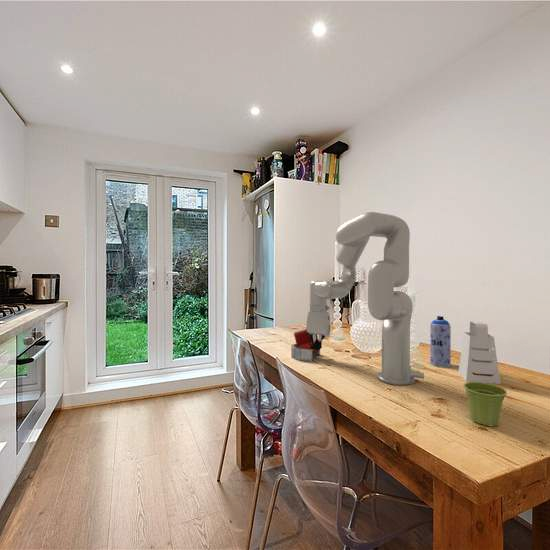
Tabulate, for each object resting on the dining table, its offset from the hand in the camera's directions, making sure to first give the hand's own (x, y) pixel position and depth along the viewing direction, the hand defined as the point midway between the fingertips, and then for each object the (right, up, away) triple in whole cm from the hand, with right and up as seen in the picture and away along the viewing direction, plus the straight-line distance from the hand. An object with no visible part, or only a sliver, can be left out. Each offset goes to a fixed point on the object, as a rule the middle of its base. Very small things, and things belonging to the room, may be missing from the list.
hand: (317, 349), depth 148 cm
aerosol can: (+49, -4, -11) cm, 51 cm away
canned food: (-4, -3, +2) cm, 5 cm away
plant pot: (+35, -5, -62) cm, 71 cm away
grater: (+54, -4, -28) cm, 61 cm away
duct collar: (-5, -4, +2) cm, 7 cm away
